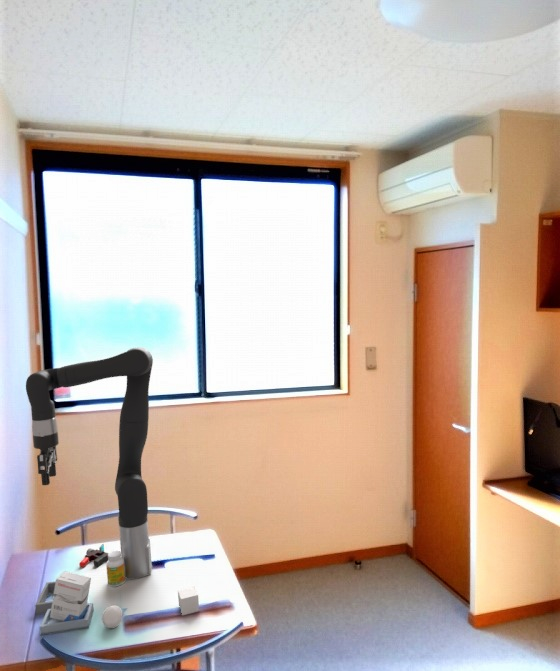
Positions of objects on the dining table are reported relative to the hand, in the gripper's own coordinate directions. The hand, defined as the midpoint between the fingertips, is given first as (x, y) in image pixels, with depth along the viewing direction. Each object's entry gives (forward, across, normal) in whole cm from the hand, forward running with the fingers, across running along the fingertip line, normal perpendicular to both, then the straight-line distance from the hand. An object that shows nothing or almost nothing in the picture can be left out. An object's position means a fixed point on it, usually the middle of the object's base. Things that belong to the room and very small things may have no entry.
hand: (49, 480), depth 176 cm
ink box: (+32, +28, +9) cm, 43 cm away
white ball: (+33, +32, +22) cm, 51 cm away
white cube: (+33, +30, +43) cm, 62 cm away
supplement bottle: (+33, +9, +20) cm, 40 cm away
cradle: (+33, +15, +3) cm, 36 cm away
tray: (+33, +28, +9) cm, 44 cm away
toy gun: (+34, -9, +9) cm, 36 cm away
